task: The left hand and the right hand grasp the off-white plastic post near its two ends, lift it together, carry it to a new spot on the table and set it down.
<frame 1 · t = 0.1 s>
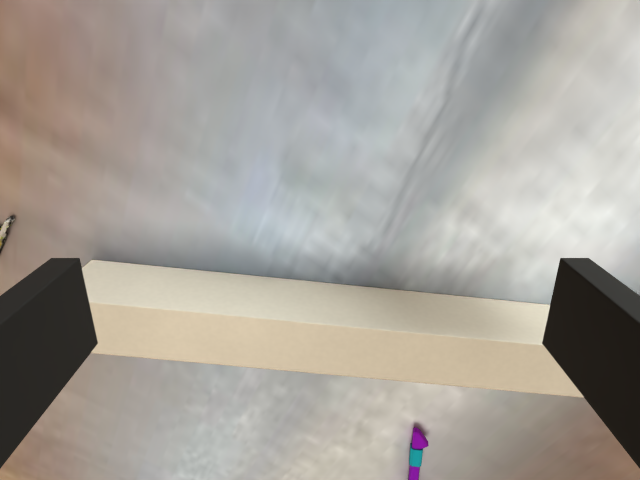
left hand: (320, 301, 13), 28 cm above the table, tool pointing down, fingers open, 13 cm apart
post: (405, 312, 45), on the table
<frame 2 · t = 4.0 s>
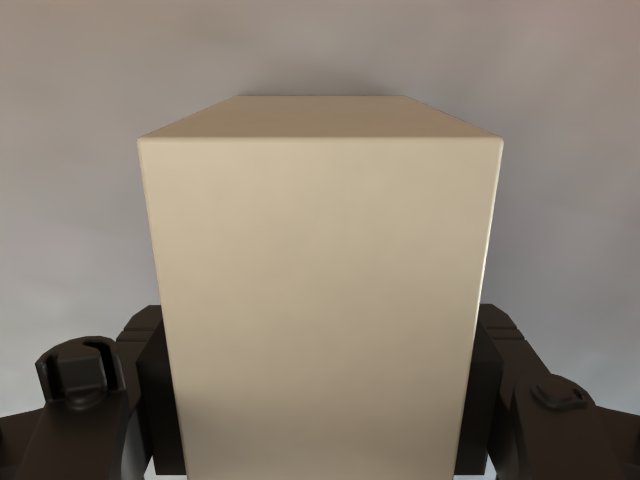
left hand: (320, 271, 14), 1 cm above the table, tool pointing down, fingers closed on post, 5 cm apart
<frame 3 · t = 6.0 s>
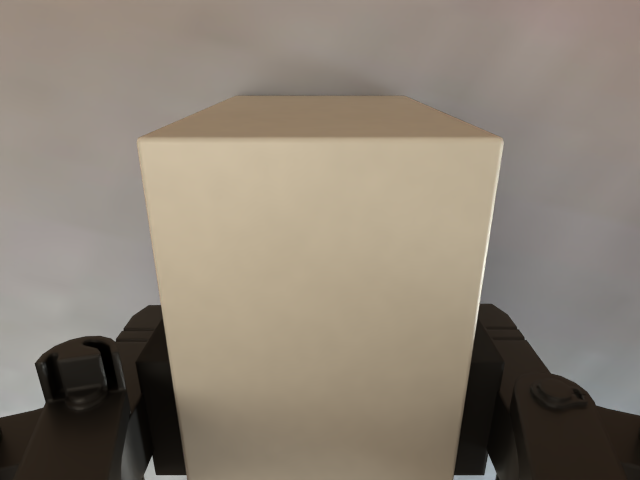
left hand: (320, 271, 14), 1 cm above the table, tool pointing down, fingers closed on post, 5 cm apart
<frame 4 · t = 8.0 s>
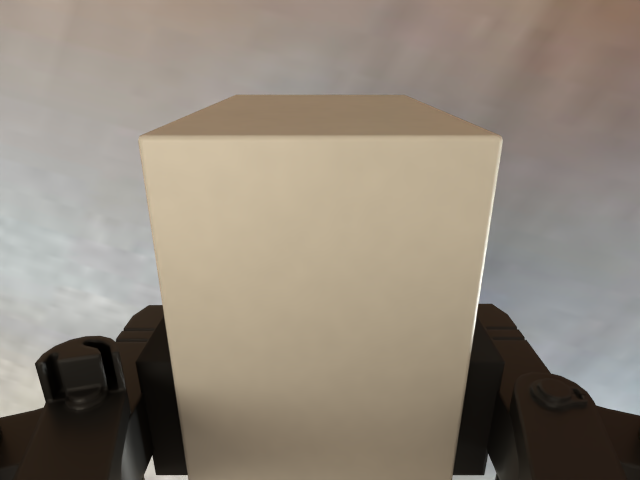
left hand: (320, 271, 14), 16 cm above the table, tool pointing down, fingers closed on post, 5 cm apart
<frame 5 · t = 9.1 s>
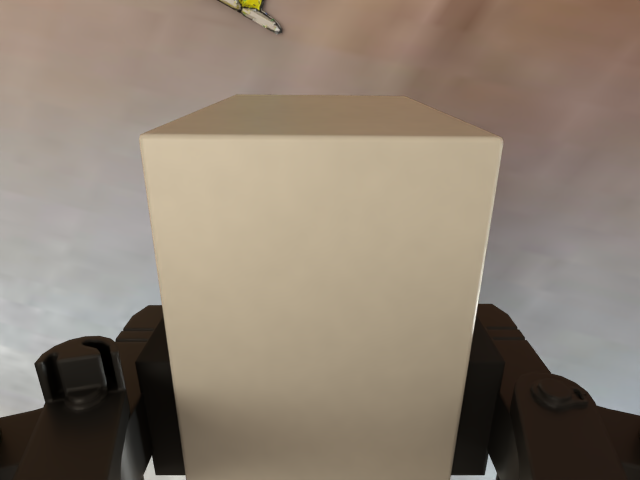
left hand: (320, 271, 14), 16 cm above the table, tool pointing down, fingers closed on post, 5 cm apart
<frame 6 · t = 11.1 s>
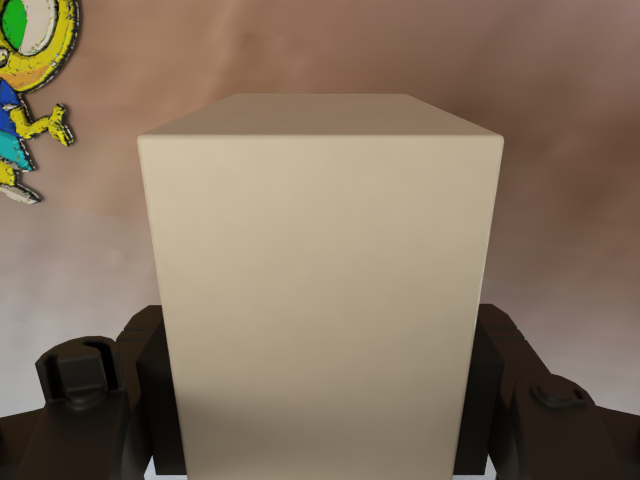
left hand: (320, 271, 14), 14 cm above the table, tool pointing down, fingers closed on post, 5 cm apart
when the left hand's fingers open (2 cm above the table, at t = 12.5 s): post drops 1 cm, on the table.
when the right hand's fingers open (4 cm above the table, at t = 12.7 s): post stays where it is, on the table.
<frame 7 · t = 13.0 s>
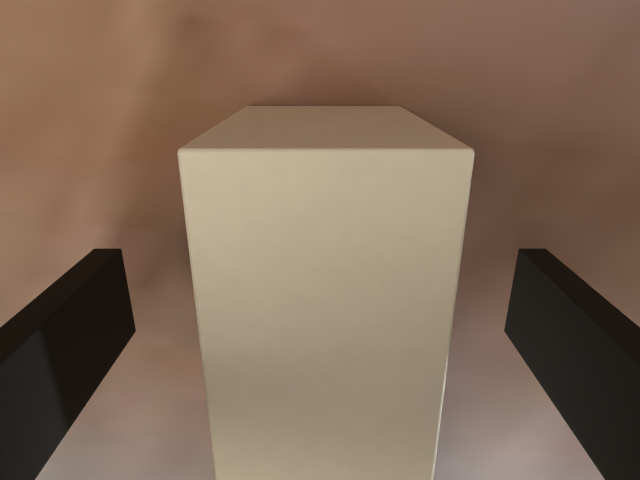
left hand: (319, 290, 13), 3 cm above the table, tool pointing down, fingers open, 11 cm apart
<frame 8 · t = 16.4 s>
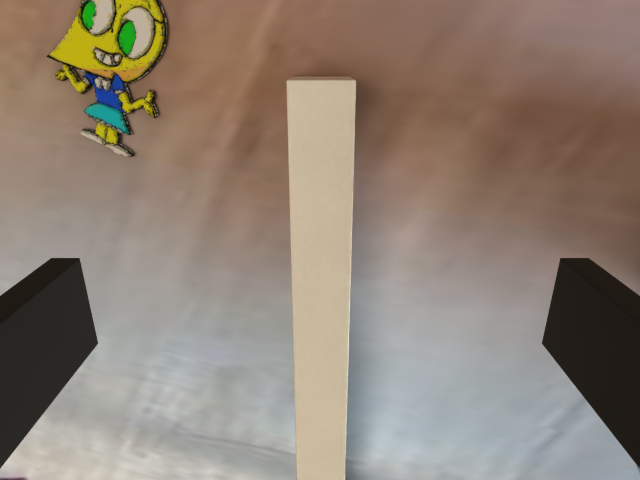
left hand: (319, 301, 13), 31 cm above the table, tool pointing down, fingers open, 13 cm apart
toy 2: (113, 56, 39), on the table
post: (320, 366, 51), on the table
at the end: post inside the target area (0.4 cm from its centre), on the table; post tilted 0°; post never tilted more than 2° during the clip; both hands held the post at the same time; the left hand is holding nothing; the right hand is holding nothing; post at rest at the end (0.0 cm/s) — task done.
